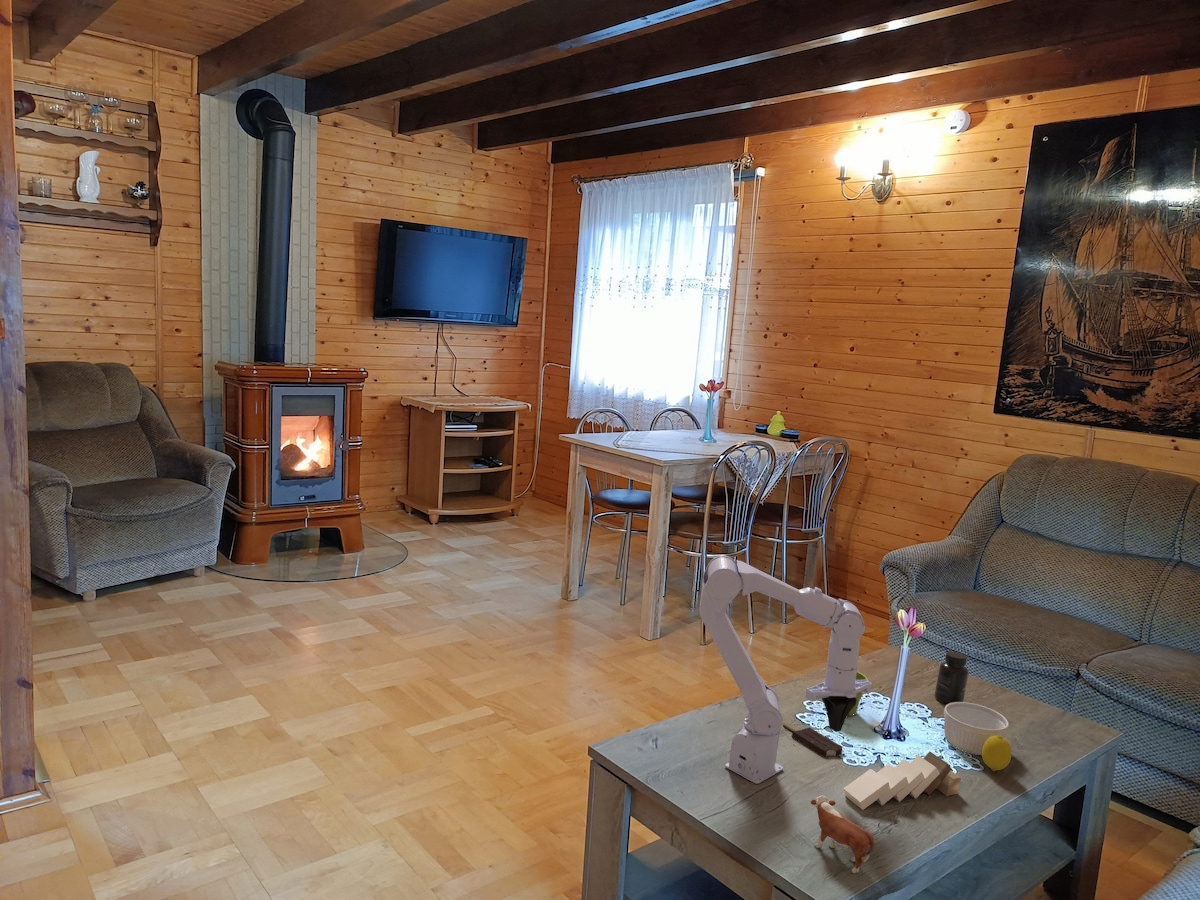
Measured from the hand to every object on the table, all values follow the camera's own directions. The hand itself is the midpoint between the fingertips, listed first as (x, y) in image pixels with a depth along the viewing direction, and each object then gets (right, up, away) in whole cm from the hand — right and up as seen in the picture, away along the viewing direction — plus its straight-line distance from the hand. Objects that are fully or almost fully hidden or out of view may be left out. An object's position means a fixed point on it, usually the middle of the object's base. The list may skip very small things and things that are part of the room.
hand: (835, 729), depth 172 cm
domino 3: (+10, -11, -3) cm, 15 cm away
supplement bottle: (+40, -7, +44) cm, 60 cm away
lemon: (+36, -12, +11) cm, 40 cm away
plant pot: (+10, -6, +32) cm, 35 cm away
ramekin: (+36, -11, +22) cm, 44 cm away
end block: (+22, -12, +3) cm, 25 cm away
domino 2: (+6, -11, -5) cm, 13 cm away
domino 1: (+2, -11, -7) cm, 13 cm away
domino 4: (+13, -11, -1) cm, 18 cm away
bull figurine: (-6, -14, -23) cm, 28 cm away
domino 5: (+17, -11, 0) cm, 20 cm away
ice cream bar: (-1, -8, +17) cm, 19 cm away
